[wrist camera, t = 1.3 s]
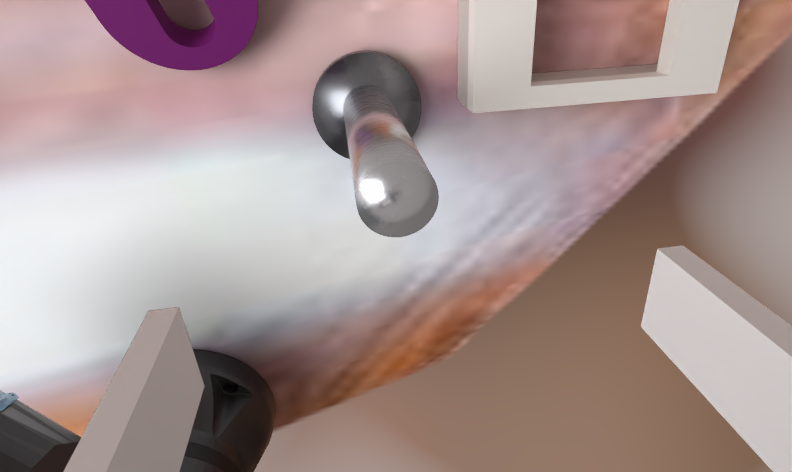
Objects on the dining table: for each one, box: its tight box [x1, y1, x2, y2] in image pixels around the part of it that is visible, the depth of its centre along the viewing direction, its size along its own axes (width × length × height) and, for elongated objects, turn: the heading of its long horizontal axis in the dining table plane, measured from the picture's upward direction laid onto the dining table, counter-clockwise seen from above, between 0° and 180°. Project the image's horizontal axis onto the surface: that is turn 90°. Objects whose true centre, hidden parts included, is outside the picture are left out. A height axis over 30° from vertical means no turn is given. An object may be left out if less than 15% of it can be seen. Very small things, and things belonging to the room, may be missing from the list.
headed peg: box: [313, 51, 439, 237], centre depth 30 cm, size 8×8×18 cm
